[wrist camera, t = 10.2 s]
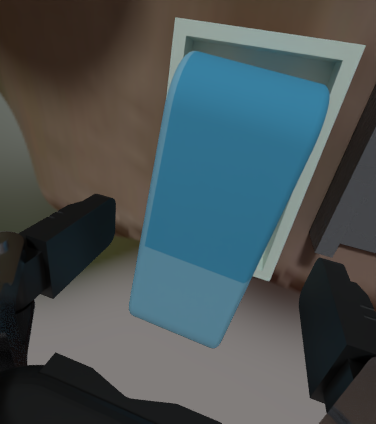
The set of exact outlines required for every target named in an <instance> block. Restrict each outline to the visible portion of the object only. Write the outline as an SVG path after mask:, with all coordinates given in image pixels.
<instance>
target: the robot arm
mask: <svg viewBox="0 0 376 424" xmlns="http://www.w3.org/2000/svg"><path fill="white" fill-rule="evenodd" d="M115 212H116V203H115V200H114V199H113V198H110V197H107V196H103V195H99V194H94V195H92V196H90V197H89V198H87V199H85V200H84V201H82V202H77V203H74V204H70V205H67V206H66V207H64V208H62V209H60V210H59V211H58V212H55V213H53V214H52V215H50V217H46V218H45V219H43V220H41V221H39V222H38V223H36V224H34V225H32V226H31V227H29V228H27V229H25V230H24V231H22V232H20V233H15V232H8V231H2V232H0V424H222V423H220V422H218V421H216V420H213V419H211V418H209V417H206V416H204V415H202V414H199V413H197V412H194V411H192V410H190V409H188V408H185V407H183V406H180V405H178V404H173V403H163V402H154V401H146V400H138V399H130V398H127V397H125V396H124V395H123V394H122V393H121V392H119V391H118V390H117V389H116V388H115V387H114V386H112V385H111V384H110V383H109V382H108V381H107V380H105V379H104V378H103V377H102V376H101V375H100V374H99V373H97V372H96V371H95V370H94V369H93V368H91V367H88V366H86V365H84V364H82V363H79V362H77V361H74V360H72V359H70V358H67V357H65V356H63V355H60V354H58V353H55V354H54V355H53V356H52V357H51V358H50V360H49V361H48V362H47V363H46V364H45V365H28V366H27V354H28V347H29V340H30V334H31V328H32V320H33V314H34V309H35V301H34V299H35V298H36V297H37V296H38V295H39V294H42V295H44V296H47V297H50V298H52V299H54V298H55V297H56V296H57V295H58V294H59V293H60V292H61V291H62V290H63V289H64V288H65V287H66V286H67V285H68V284H69V283H70V282H71V281H72V280H73V279H74V278H75V277H76V276H77V275H79V274H80V273H81V272H82V271H83V270H84V269H85V268H86V267H87V266H88V265H89V264H90V263H91V262H92V261H93V260H94V259H95V258H96V257H97V256H98V255H99V254H100V253H101V252H102V251H103V250H105V249H106V248H107V247H108V246H109V244H110V243H111V242H112V240H113V237H114V234H115ZM299 312H300V320H301V329H302V337H303V345H304V353H305V362H306V370H307V378H308V387H309V395H310V398H311V399H314V400H316V401H319V402H322V403H324V404H325V406H326V412H327V414H326V415H325V417H324V418H323V419H322V420H321V422H320V423H319V424H376V312H375V311H374V308H373V305H372V303H371V301H370V299H369V297H368V295H367V294H366V293H365V292H364V291H363V290H362V289H361V287H360V286H359V285H358V284H357V283H355V282H351V281H350V279H349V276H348V274H347V271H346V269H345V267H344V265H343V264H340V263H337V262H333V261H330V260H326V259H323V258H318V259H317V261H316V262H315V264H314V266H313V268H312V270H311V272H310V274H309V276H308V278H307V280H306V283H305V285H304V287H303V289H302V291H301V294H300V298H299Z"/></svg>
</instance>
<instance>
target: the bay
mask: <svg viewBox="0 0 376 424" xmlns="http://www.w3.org/2000/svg"><path fill="white" fill-rule="evenodd" d="M309 234H310V237H311V241H312V244H313V248H314V251H315V253H318V254H321V255H325V256H329V257H333V255H334V253H335V252H336V250H337V248H338V246H339V244H344V245H347V246H351V247H355V248H359V249H362V250H366V251H370V252H373V253H376V85H375V87H374V89H373V92H372V94H371V96H370V98H369V101H368V103H367V105H366V107H365V109H364V112H363V114H362V116H361V118H360V120H359V123H358V125H357V127H356V129H355V132H354V134H353V136H352V138H351V140H350V143H349V145H348V147H347V149H346V152H345V154H344V156H343V158H342V160H341V163H340V165H339V167H338V169H337V171H336V174H335V176H334V178H333V180H332V183H331V185H330V187H329V189H328V191H327V194H326V196H325V198H324V200H323V203H322V205H321V207H320V209H319V211H318V214H317V216H316V218H315V220H314V223H313V225H312V227H311V229H310V231H309Z"/></svg>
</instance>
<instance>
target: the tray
mask: <svg viewBox="0 0 376 424" xmlns="http://www.w3.org/2000/svg"><path fill="white" fill-rule="evenodd" d="M365 46H366V45H360V44H353V43H347V42H340V41H333V40H326V39H319V38H312V37H306V36H299V35H292V34H285V33H278V32H271V31H265V30H258V29H251V28H244V27H237V26H230V25H224V24H217V23H210V22H203V21H196V20H189V19H183V18H176V17H175V25H174V34H173V43H172V52H171V61H170V70H169V79H168V88H167V94H168V90H169V87H170V84H171V81H172V78H173V75H174V73H175V71H176V69H177V67H178V65H179V63H180V62H181V60H182V59H183V58H184V56H185V55H187V54H188V53H189V52H192V51H199V52H203V53H207V54H210V55H214V56H218V57H222V58H226V59H229V60H233V61H237V62H241V63H245V64H249V65H252V66H256V67H260V68H264V69H268V70H271V71H275V72H279V73H283V74H287V75H290V76H294V77H298V78H302V79H306V80H310V81H313V82H317V83H321V84H324V85H326V86H327V88H328V90H329V94H330V100H329V106H328V111H327V114H326V118H325V121H324V124H323V127H322V129H321V132H320V134H319V137H318V139H317V142H316V144H315V146H314V148H313V151H312V153H311V155H310V157H309V159H308V161H307V163H306V165H305V167H304V169H303V172H302V174H301V176H300V178H299V180H298V182H297V184H296V186H295V188H294V190H293V192H292V195H291V197H290V199H289V201H288V203H287V205H286V207H285V209H284V211H283V213H282V215H281V218H280V220H279V222H278V224H277V226H276V228H275V230H274V232H273V234H272V236H271V238H270V241H269V243H268V245H267V247H266V249H265V251H264V253H263V255H262V257H261V259H260V261H259V264H258V266H257V268H256V270H255V272H254V274H253V277H257V278H260V279H263V280H267V281H270V279H271V276H272V274H273V271H274V269H275V266H276V264H277V261H278V259H279V256H280V254H281V252H282V249H283V247H284V244H285V242H286V239H287V237H288V234H289V232H290V230H291V227H292V225H293V222H294V220H295V217H296V215H297V212H298V210H299V208H300V205H301V203H302V200H303V198H304V195H305V193H306V190H307V188H308V185H309V183H310V181H311V178H312V176H313V173H314V171H315V168H316V166H317V163H318V161H319V159H320V156H321V154H322V151H323V149H324V146H325V144H326V141H327V139H328V137H329V134H330V132H331V129H332V127H333V124H334V122H335V119H336V117H337V115H338V112H339V110H340V107H341V105H342V102H343V100H344V97H345V95H346V92H347V90H348V88H349V85H350V83H351V80H352V78H353V75H354V73H355V70H356V68H357V66H358V63H359V61H360V58H361V56H362V53H363V51H364V48H365ZM166 98H167V97H166Z"/></svg>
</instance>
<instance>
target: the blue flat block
mask: <svg viewBox="0 0 376 424" xmlns="http://www.w3.org/2000/svg"><path fill="white" fill-rule="evenodd" d="M329 100H330V94H329V90H328V88H327V86H326V85H324V84H321V83H317V82H313V81H310V80H306V79H302V78H298V77H294V76H290V75H287V74H283V73H279V72H275V71H271V70H268V69H264V68H260V67H256V66H252V65H249V64H245V63H241V62H237V61H233V60H229V59H226V58H222V57H218V56H214V55H210V54H207V53H203V52H199V51H192V52H189V53H188V54H187V55H185V56H184V58H183V59H182V60H181V62H180V63H179V65H178V67H177V69H176V71H175V73H174V75H173V78H172V81H171V84H170V87H169V90H168V94H167V98H166V102H165V107H164V113H163V118H162V124H161V129H160V135H159V140H158V146H157V152H156V157H155V163H154V168H153V174H152V179H151V185H150V191H149V196H148V202H147V207H146V213H145V218H144V224H143V229H142V235H141V241H140V246H139V252H138V257H137V263H136V268H135V274H134V280H133V285H132V291H131V296H130V302H129V311H130V313H131V314H132V315H133V316H135V317H138V318H140V319H143V320H145V321H147V322H150V323H152V324H154V325H157V326H159V327H162V328H164V329H167V330H169V331H171V332H174V333H176V334H178V335H181V336H183V337H186V338H188V339H190V340H193V341H195V342H198V343H200V344H202V345H205V346H207V347H210V348H216V347H217V346H219V344H220V343H221V341H222V339H223V337H224V335H225V333H226V330H227V328H228V326H229V324H230V322H231V320H232V318H233V316H234V314H235V312H236V309H237V307H238V305H239V303H240V301H241V299H242V297H243V295H244V293H245V291H246V289H247V286H248V285H249V282H250V280H251V278H252V276H253V274H254V272H255V270H256V268H257V266H258V264H259V261H260V259H261V257H262V255H263V253H264V251H265V249H266V247H267V245H268V243H269V241H270V238H271V236H272V234H273V232H274V230H275V228H276V226H277V224H278V222H279V220H280V218H281V215H282V213H283V211H284V209H285V207H286V205H287V203H288V201H289V199H290V197H291V195H292V192H293V190H294V188H295V186H296V184H297V182H298V180H299V178H300V176H301V174H302V172H303V169H304V167H305V165H306V163H307V161H308V159H309V157H310V155H311V153H312V151H313V148H314V146H315V144H316V142H317V139H318V137H319V134H320V132H321V129H322V127H323V124H324V121H325V118H326V114H327V111H328V106H329Z"/></svg>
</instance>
